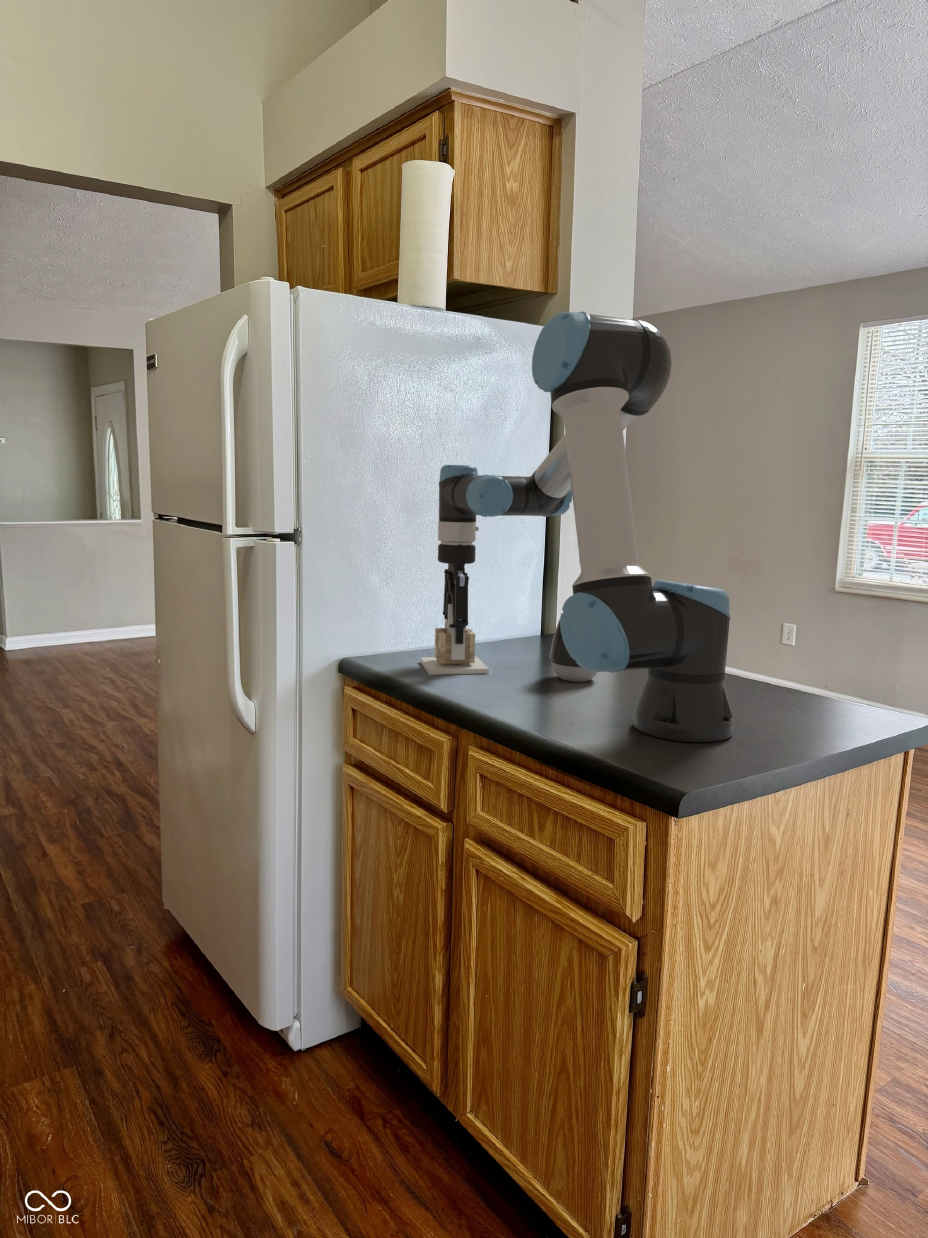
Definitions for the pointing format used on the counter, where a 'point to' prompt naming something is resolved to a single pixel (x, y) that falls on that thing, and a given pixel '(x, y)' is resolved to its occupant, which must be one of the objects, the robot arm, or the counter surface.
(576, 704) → the counter surface
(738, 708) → the counter surface
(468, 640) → the collar
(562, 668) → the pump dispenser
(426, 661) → the post fixture
